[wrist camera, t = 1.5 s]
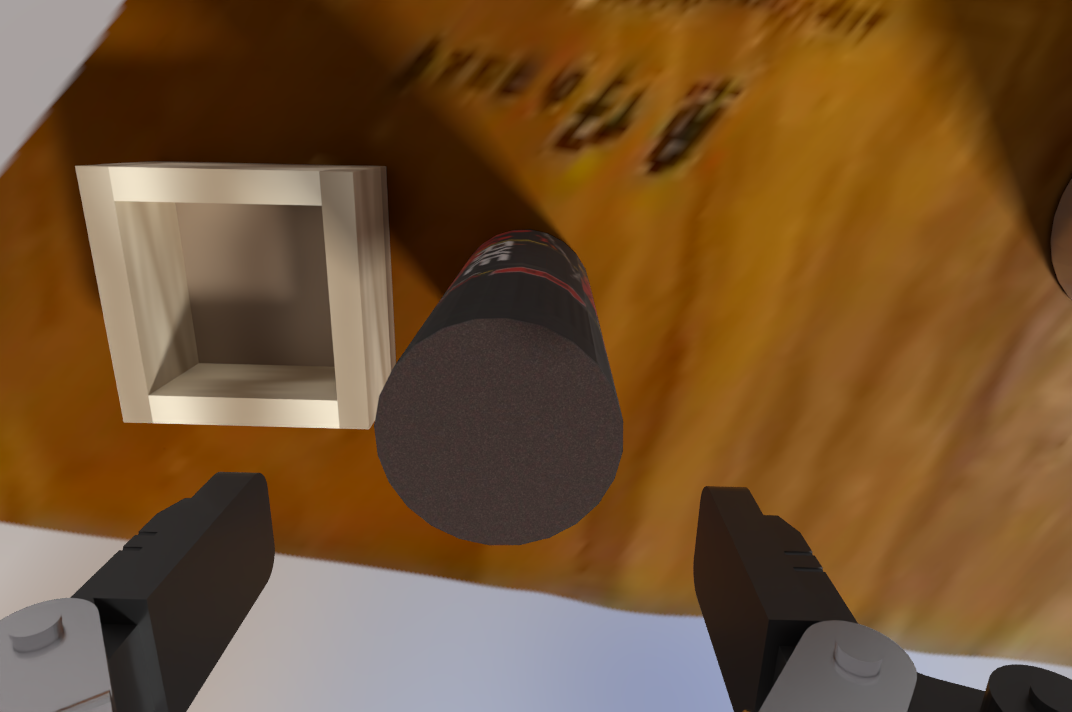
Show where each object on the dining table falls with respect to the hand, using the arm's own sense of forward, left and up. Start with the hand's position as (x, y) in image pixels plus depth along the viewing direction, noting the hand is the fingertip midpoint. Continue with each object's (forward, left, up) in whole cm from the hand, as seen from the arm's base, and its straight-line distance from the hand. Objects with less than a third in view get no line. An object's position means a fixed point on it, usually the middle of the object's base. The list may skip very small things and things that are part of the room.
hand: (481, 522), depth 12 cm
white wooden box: (+11, 0, -19) cm, 22 cm away
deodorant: (0, 0, -19) cm, 19 cm away
